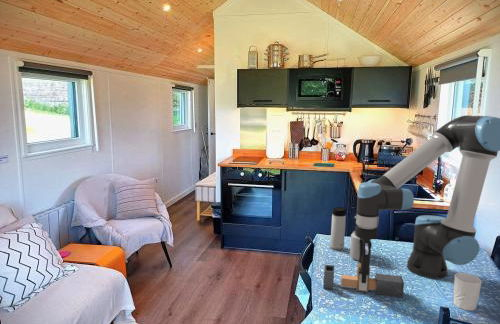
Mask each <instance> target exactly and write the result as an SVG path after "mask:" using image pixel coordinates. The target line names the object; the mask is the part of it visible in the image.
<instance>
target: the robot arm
mask: <svg viewBox="0 0 500 324" xmlns="http://www.w3.org/2000/svg"><path fill="white" fill-rule="evenodd" d="M456 148H459V153H460V154H461V155H462V158H461V161H460V165H459V169H458V173H457V177H456V181H455V185H454V189H453V193H452V196H451V200H450V204H449V208H448V210H447V214H446V217H444V216H440V215H439V216H438V215H418V216H417V217H416V218H415V222H414V234H413V245H412V247H413V248H412V251H411V253H410V255H409V257H408V258H407V261H406V268H407V269H408V270H409V272H412V274H415V275H417V276H421V277H423V278H428V279H429V278H430V279H443V278H445V277H447V276H448V265H447V262H449V263H451V264H453V265H456V266H464V265H468V264H469V263H470V262H473V261H474V260H475V259H476V258H477V256H478V255H479V252H480V244H479V241H478V240H477V239H476V238H475V237H476V233H477V230H476V228H475V227H474V222H475V218H476V214H477V210H478V207H479V204H480V199H481V196H482V192H483V188H484V185H485V181H486V177H487V174H488V170H489V166H490V162H491V161H492V160H494V159H496V158H497V156H498V155H499V152H500V117H496V116H492V115H461V116H457V117H455V118H454V119H451V120H450V121H448V122H447V123H445V124H443V125H442V126H441V127H439V128H438V129H436V130H435V131H434V132H432V134H431V137H430V138H429V139H428V140H426V141H425V142H424V143H423V144H422V145H420V146H419V147H418V148H417V149H414V151H412V152H411V153H409V154H408V156H406V157H405V158H403V159H402V160H401V161H399V162H398V163H397V164H396V165H395V166H393V167H392V168H390V169H389V170H388V171H386V172H385V173H384V174H383V175H382V176H380V177H379V178H377V179H376V178H375V179H370V180H368V181H365V182H361V183H360V184H359V185H358V188H357V198H356V199H357V200H356V203H357V204H356V215H355V216H354V219H356V220H355V224H356V225H355V228H354V229H355V230H354V231H355V235H356V236H357V237H359V238H360V240H359V244H360V247H359V249H360V253H359V261H358V263H361V271H360V272H358V273H359V274H360V279H359V290H362V291H361V292H364V291H367V281H368V275H369V266H370V262H371V261H370V260H371V252H372V247H373V246H372V245H373V244H372V241H371V240H375V239H377V237H378V226H379V219H380V216H379V215H380V211H402V210H411V208H412V207H413V205H414V203H415V198H414V197H415V196H414V193H413V192H412V191H411V190H410V189H409V188H402V186H403V185H405V184H406V183H407V182H409V181H410V180H412V179H413V178H414V177H415V176H416V175H418V174H419V173H420V172H421V171H423V170H424V169H425V168H427V167H428V166H429V165H431V164H432V163H434V161H437V159H439V158H440V157H441V156H442V155H445V153H451V152H453V150H455V149H456Z"/></svg>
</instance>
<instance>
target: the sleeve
mask: <svg viewBox="0 0 500 324" xmlns="http://www.w3.org/2000/svg"><path fill="white" fill-rule="evenodd" d="M374 275H375V276H374V279H377V285H376V290H374V292H375V295H376V296H381V297H391V298H396V299H397V298H398V299H403V297H404V291H405V290H404V287H405V282H404V279H403V277H402V275H394V274H393V275H392V274H386V273H385V274H384V273H377V272H375V273H374Z"/></svg>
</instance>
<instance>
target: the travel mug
mask: <svg viewBox="0 0 500 324" xmlns="http://www.w3.org/2000/svg"><path fill="white" fill-rule="evenodd" d="M347 210H348V208H347V207H343V206H342V207H341V206H340V207H339V206H337V207H333V209H332V210H331V211H332V214H331V215H332V216H331V228H330V229H331V230H330V243H329V244H330V247H329V248H330V249H331V250H332V251H336V252H337V251H338V252H340V251H343V250H344V249H345V235H346V220H347V219H346V217H347V214H346V213H347Z"/></svg>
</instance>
